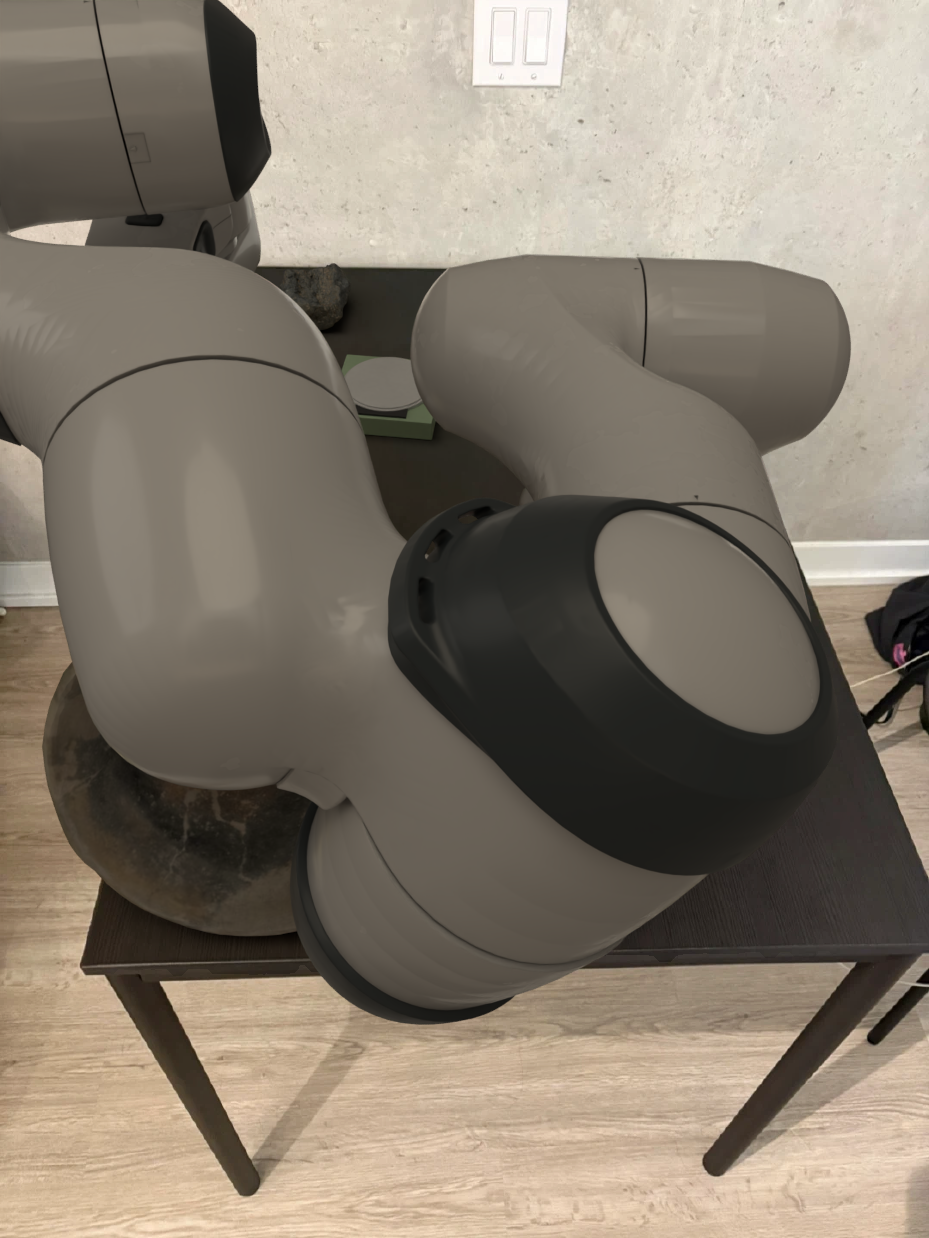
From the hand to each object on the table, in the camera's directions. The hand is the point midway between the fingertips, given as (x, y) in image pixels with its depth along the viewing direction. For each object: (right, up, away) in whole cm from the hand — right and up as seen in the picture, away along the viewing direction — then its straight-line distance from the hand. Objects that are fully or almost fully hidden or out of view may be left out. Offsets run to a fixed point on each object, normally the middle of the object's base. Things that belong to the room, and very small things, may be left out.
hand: (220, 378), depth 66 cm
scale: (+10, +7, +37) cm, 39 cm away
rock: (-1, +22, +49) cm, 54 cm away
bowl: (+4, -24, +5) cm, 25 cm away
